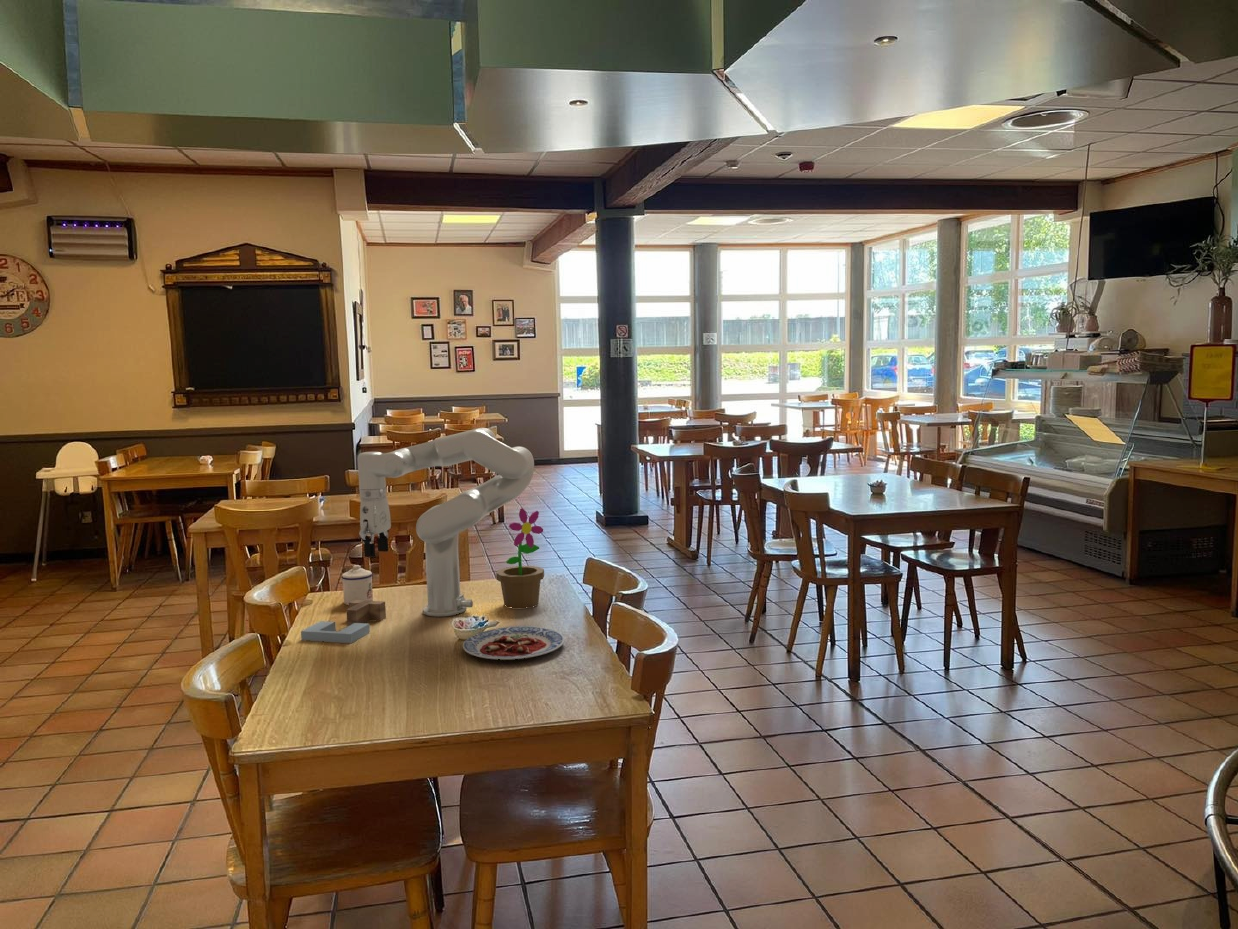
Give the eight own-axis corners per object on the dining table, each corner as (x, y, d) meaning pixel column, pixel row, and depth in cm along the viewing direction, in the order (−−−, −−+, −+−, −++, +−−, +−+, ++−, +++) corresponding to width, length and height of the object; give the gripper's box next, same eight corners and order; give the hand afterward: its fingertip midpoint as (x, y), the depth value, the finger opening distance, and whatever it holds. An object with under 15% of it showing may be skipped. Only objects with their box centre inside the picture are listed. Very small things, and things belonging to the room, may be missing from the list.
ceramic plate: (540, 671, 214) (539, 659, 214) (444, 662, 223) (443, 650, 222) (579, 638, 239) (579, 627, 238) (491, 631, 247) (491, 620, 247)
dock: (369, 632, 248) (369, 623, 247) (351, 643, 238) (350, 634, 238) (321, 629, 251) (320, 621, 251) (301, 640, 242) (300, 631, 242)
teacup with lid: (374, 604, 276) (372, 567, 275) (343, 607, 274) (341, 570, 272) (372, 595, 288) (370, 559, 286) (342, 598, 285) (340, 561, 284)
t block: (386, 618, 261) (385, 601, 261) (368, 628, 252) (367, 611, 251) (355, 616, 264) (354, 600, 263) (336, 626, 254) (335, 609, 254)
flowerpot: (516, 613, 262) (512, 512, 259) (488, 604, 273) (484, 506, 269) (554, 604, 272) (551, 505, 268) (526, 595, 282) (522, 500, 279)
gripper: (369, 499, 254) (373, 561, 256) (399, 489, 271) (402, 548, 273) (345, 498, 256) (349, 560, 258) (376, 489, 273) (380, 547, 275)
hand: (376, 553), depth 266 cm, fingers open, 6 cm apart
